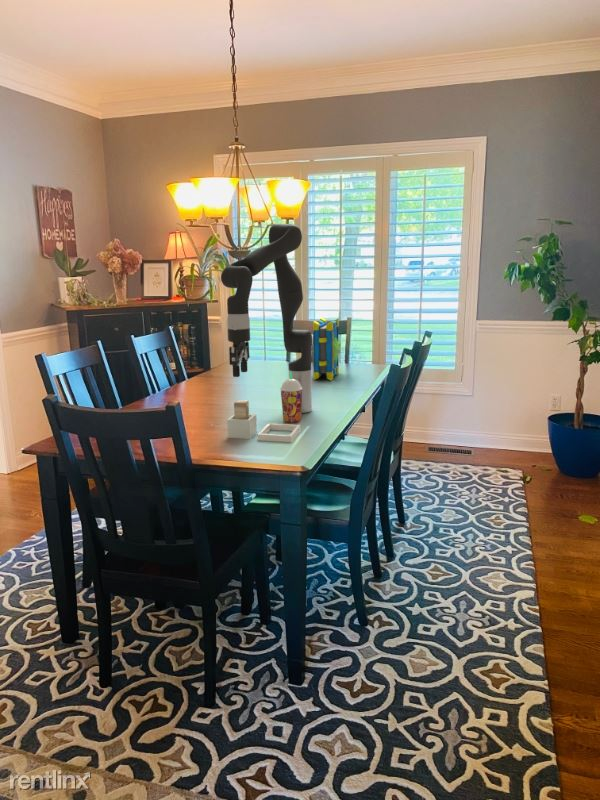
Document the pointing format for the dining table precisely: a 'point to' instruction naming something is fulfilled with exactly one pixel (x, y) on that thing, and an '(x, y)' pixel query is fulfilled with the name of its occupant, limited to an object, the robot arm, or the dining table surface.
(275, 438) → the plastic tray
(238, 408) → the birch peg
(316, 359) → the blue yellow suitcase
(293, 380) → the smoothie
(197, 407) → the dining table surface
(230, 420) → the white open box
